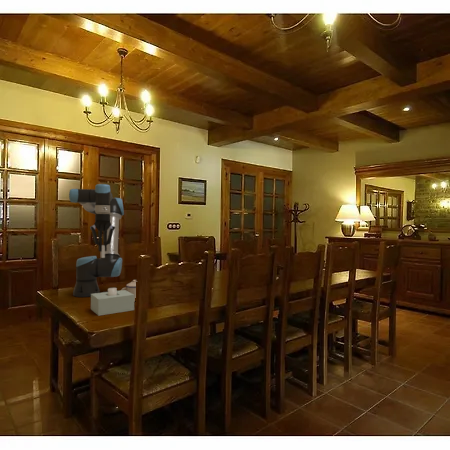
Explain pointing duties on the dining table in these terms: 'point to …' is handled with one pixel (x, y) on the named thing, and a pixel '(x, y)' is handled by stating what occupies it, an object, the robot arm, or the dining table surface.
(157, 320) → the dining table surface
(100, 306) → the block
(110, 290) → the cylinder
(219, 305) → the dining table surface
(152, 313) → the dining table surface
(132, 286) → the teacup with lid
